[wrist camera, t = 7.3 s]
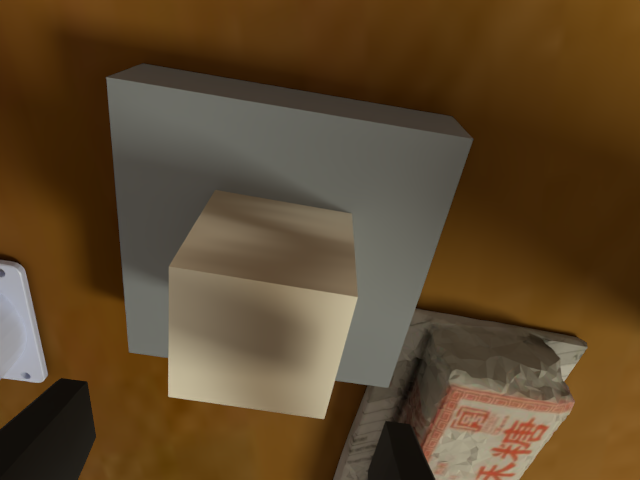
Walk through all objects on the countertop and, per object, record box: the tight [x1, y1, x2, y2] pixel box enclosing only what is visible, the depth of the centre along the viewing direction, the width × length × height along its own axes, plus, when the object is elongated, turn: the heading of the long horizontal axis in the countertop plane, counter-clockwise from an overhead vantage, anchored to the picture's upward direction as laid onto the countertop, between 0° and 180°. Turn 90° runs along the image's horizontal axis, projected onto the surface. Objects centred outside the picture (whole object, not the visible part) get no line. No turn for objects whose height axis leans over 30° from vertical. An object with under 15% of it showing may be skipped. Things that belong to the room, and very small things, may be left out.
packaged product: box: [333, 308, 587, 480], centre depth 25 cm, size 18×5×10 cm
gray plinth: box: [106, 63, 473, 388], centre depth 18 cm, size 12×12×3 cm
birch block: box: [168, 190, 358, 419], centre depth 15 cm, size 5×5×5 cm
